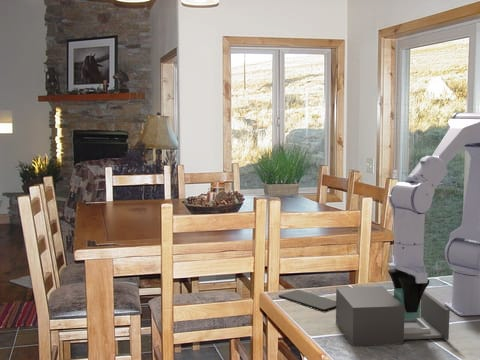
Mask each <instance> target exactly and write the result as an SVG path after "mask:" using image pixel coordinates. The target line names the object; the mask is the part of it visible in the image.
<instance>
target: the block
mask: <svg viewBox="0 0 480 360" xmlns="http://www.w3.org/2000/svg"><path fill="white" fill-rule="evenodd" d="M393 296H394V297H395V298H396V299H397V300H398V301H400V302H401V303H402V304H403V305H404V306H405V304H404V294H403V290H402V288H395V289H393ZM420 311H421V303H420V304H419V307H418V311H417V312H413V313H407V312H406V310H405V313H404V319H414V318H420Z"/></svg>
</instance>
